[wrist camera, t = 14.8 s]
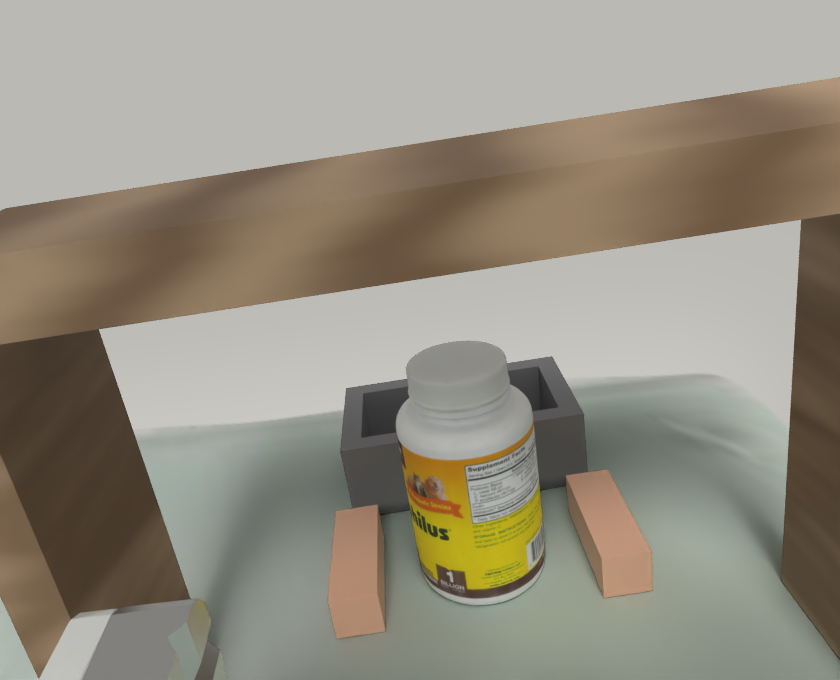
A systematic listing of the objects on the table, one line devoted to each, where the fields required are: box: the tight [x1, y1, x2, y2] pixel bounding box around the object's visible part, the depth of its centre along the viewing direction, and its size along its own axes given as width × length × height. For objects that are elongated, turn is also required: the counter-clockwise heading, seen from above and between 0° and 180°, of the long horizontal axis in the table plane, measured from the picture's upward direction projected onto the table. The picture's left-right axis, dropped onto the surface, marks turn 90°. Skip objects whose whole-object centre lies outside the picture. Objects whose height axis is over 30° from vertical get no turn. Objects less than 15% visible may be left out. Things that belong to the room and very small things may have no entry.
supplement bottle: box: [396, 341, 545, 605], centre depth 30 cm, size 6×6×10 cm
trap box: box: [340, 357, 588, 515], centre depth 40 cm, size 12×7×4 cm, turn 93°
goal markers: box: [328, 469, 653, 639], centre depth 32 cm, size 13×6×2 cm, turn 93°
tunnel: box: [0, 77, 840, 678], centre depth 22 cm, size 26×7×19 cm, turn 93°
